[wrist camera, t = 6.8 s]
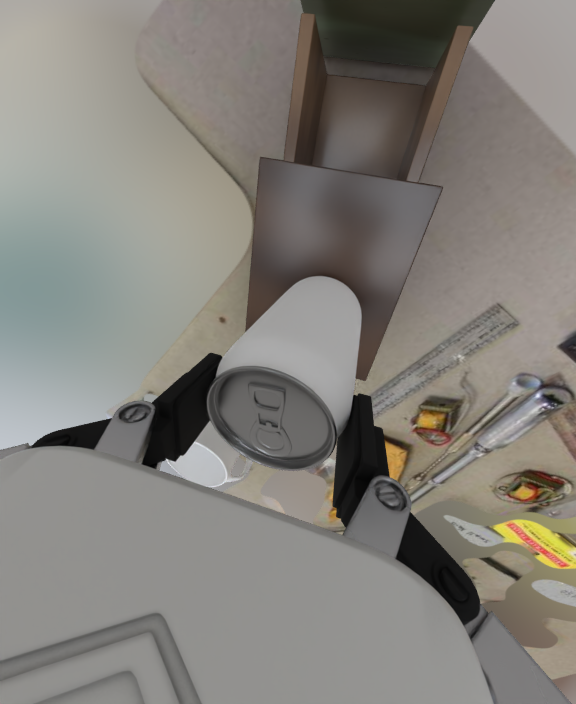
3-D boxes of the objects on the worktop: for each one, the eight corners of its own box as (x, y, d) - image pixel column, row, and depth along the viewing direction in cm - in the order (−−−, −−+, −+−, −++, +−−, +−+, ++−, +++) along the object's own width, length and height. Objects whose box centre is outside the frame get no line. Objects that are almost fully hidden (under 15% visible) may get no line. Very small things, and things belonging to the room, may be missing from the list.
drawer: (331, -60, 17) (314, -246, 10) (493, -53, 15) (599, -263, 9) (288, 227, 26) (265, 230, 19) (389, 247, 24) (402, 258, 18)
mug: (200, 394, 41) (149, 451, 31) (235, 371, 37) (189, 429, 27) (245, 440, 44) (212, 507, 34) (282, 424, 40) (257, 494, 30)
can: (282, 344, 22) (210, 456, 12) (281, 271, 19) (180, 345, 9) (356, 355, 21) (339, 493, 11) (368, 277, 17) (360, 373, 7)
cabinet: (292, 178, 24) (259, 156, 16) (412, 198, 23) (444, 186, 15) (272, 315, 32) (243, 348, 23) (363, 337, 30) (365, 381, 22)
